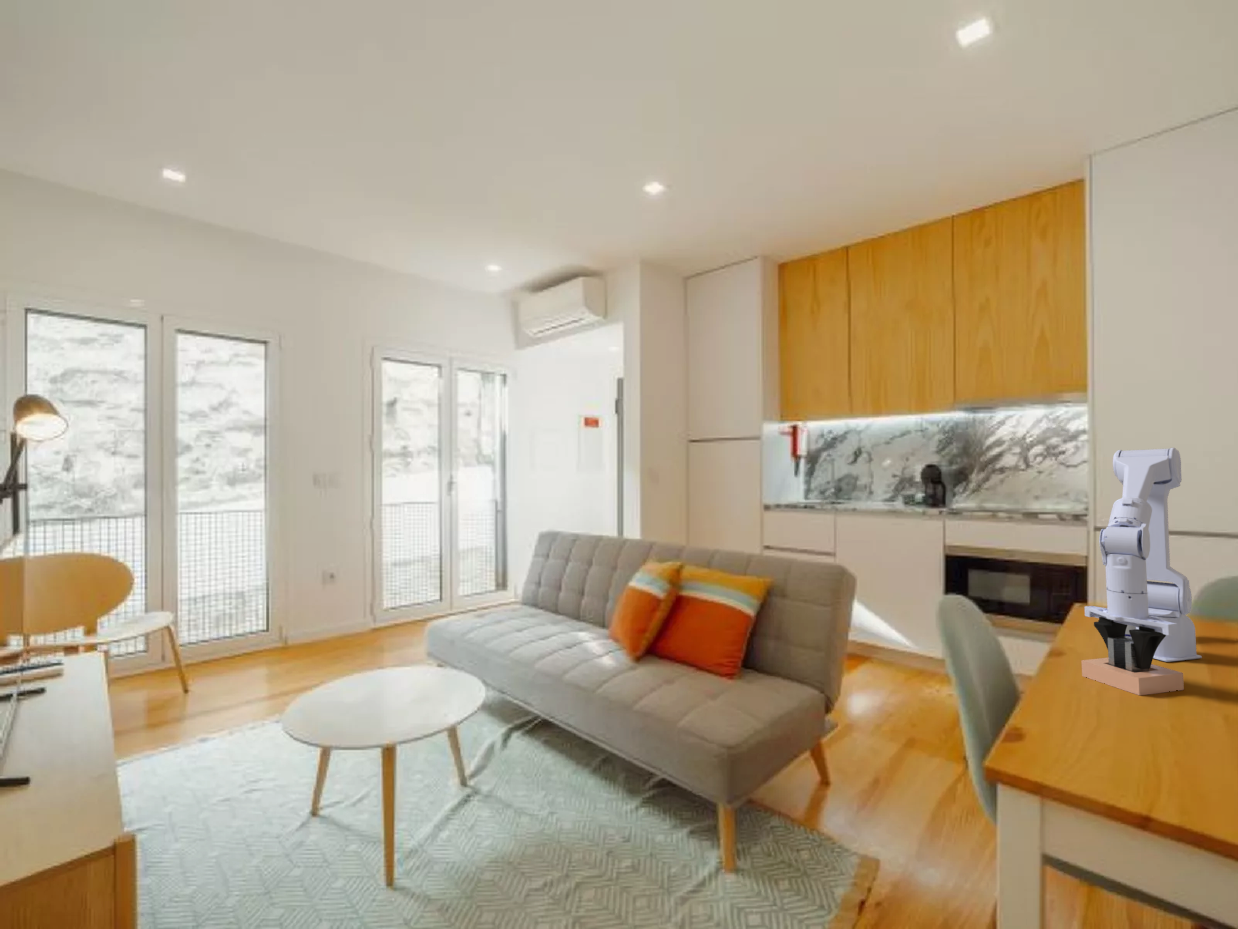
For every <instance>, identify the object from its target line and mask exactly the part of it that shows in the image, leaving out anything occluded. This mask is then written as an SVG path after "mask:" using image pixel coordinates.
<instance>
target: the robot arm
mask: <svg viewBox="0 0 1238 929" xmlns="http://www.w3.org/2000/svg"><path fill="white" fill-rule="evenodd" d="M1112 470H1113V473H1114V476H1115V477H1116V478H1117V480H1118V481H1119V482H1120V483H1121V485H1122V493H1121V494H1122V495H1121V496H1122V497H1121V498H1119V499H1117V500H1115V501H1114V502H1113V504H1112V508H1111V511H1110V515H1109V519H1108V522H1107V523H1108V524H1107V526H1106V528H1101V529H1100V532H1099V537H1098V542H1099V548H1100V553H1101V559H1102V561H1101V562H1102V565H1104V566H1105V586H1106V604H1107V607H1100V606H1094V605H1087V606H1084V616H1085V617H1088V618H1096V619H1098V621H1094V622H1093V626H1094V628H1095V629H1096V630H1097V631H1098V633H1099V634H1100V636H1101V638H1102V640H1103V642H1104V644H1105V646H1106V649H1107V650H1108V638H1109V637H1120V636H1125V632H1126V628H1127V625H1130V626H1134V627H1136V629H1134V630H1129V633H1130V635H1131V637H1132V640H1133V643H1134V647H1135V653H1136V663H1137V667H1138V668H1139V669H1149V668H1150V667H1151V664H1153V659H1156V660H1158V661H1162V662H1166V663H1169V662H1179V661H1185V660H1186V661H1188V660H1197V659H1202V658H1203V657H1202V655H1200V654H1197V641H1196V638H1197V637H1196V627H1195V624H1194V622H1193V620H1192V619H1191V618H1190V617H1189V616H1187V615H1188V614H1189V613H1191V611H1192V599H1193V598H1192V590H1191V587H1190V580H1189V579H1188V577H1187V576H1186V575H1184V574H1183V573H1182V572H1179V571H1178V570H1176V569H1175V568H1173V567H1171V563H1170V562H1171V561H1170V560H1171V559H1170V554H1171V553H1170V533H1169V531H1170V529H1169V528H1170V527H1169V508H1168V503H1169V502H1168V499H1169V494H1170V490H1173V489H1176V488H1179V487H1180V486H1181V482H1182V458H1181V454H1180V451H1179V450H1178V449H1177V448H1175V447H1170V448H1155V449H1154V448H1151V449H1149V448H1148V449H1132V450H1131V449H1129V450H1128V449H1127V450H1122V449H1118V450H1116V451H1115V452H1114V454H1113V457H1112Z"/></svg>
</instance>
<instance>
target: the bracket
mask: <svg viewBox="0 0 1238 929" xmlns="http://www.w3.org/2000/svg"><path fill="white" fill-rule="evenodd" d="M1107 651H1108V654H1107V655H1108V657H1107V658H1108V659H1109V665H1111V666H1114V667H1118V668H1121V669H1124V670H1127V671H1131V672H1134V673H1137V672H1145V671H1149V669H1139V668H1138V667H1137V663H1136V653H1135V647H1134V643H1133V640H1132V638H1130V637H1126V636H1120V637H1109V638H1108V649H1107Z"/></svg>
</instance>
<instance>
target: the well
mask: <svg viewBox="0 0 1238 929" xmlns="http://www.w3.org/2000/svg"><path fill="white" fill-rule="evenodd" d="M1081 676H1082V677H1083V678H1086V677H1087V679H1090V680H1092V681H1095V680H1096V682H1099V683H1101V684H1104V683H1105V684H1104V685H1108V686H1110V687H1112V688H1117V689H1119V690H1123V691H1125V692H1127V693H1131V694H1134V695H1136V696H1145V695H1154V694H1162V693H1170V692H1177V691H1176V690H1178V691H1183V690H1185V689H1184V688H1185V687H1184V686H1185V685H1184V673H1183V672H1181V671H1177V670H1174V669H1170V668H1168V667H1164V666H1159V665H1156V664H1153V663H1151V667H1150V668H1149V671H1145V672H1137V673H1134V672H1131V671H1127V670H1124V669H1121V668H1118V667H1114V666H1111V665H1109V659H1108V657H1103V658H1102V657H1101V658H1093V659H1092V658H1090V659H1083V660H1082V659H1081ZM1169 691H1170V692H1169Z"/></svg>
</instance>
